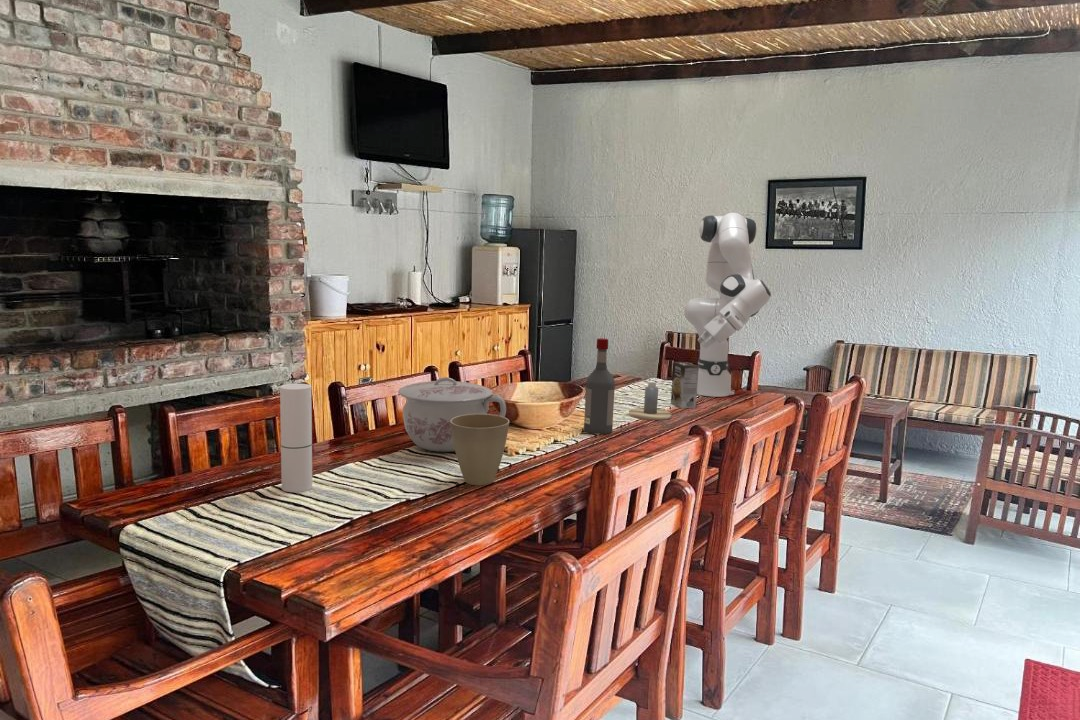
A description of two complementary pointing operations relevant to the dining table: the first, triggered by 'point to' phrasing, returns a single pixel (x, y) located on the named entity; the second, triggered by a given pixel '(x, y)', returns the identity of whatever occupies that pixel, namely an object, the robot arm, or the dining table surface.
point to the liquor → (599, 395)
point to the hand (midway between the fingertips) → (701, 344)
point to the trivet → (658, 416)
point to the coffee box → (684, 384)
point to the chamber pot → (442, 409)
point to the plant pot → (479, 445)
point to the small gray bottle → (651, 398)
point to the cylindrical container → (296, 437)
